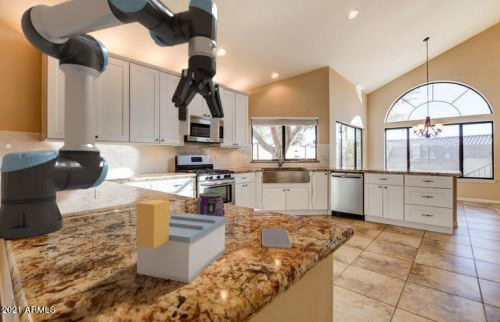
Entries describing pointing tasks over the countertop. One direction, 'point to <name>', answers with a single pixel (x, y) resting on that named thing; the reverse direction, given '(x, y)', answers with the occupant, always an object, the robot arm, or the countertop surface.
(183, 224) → the lid
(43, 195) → the robot arm
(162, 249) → the tub
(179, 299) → the countertop surface
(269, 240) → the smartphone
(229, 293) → the countertop surface
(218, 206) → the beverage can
